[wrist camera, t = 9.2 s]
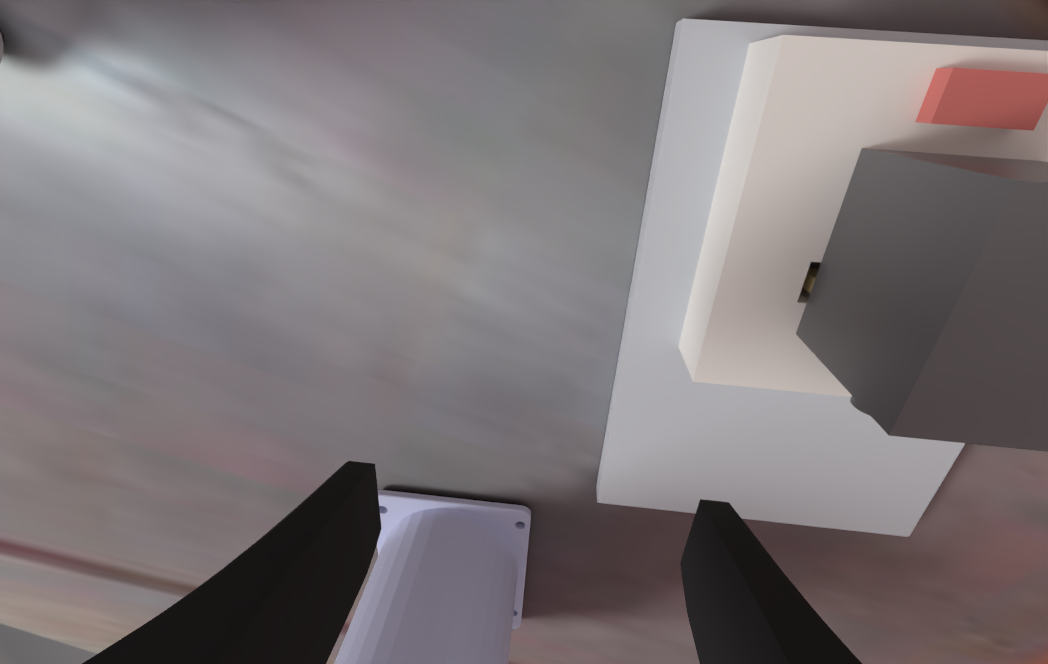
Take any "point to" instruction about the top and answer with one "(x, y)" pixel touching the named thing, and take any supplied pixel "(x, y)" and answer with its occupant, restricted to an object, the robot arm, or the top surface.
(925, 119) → the socket plate
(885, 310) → the plug
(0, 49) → the light bulb
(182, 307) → the top surface
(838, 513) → the socket mat
